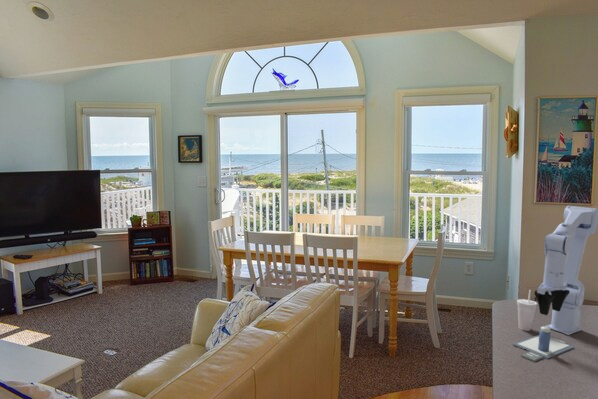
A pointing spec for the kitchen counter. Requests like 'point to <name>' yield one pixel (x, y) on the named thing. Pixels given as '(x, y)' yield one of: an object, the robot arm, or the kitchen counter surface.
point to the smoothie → (526, 312)
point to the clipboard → (554, 347)
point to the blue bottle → (544, 339)
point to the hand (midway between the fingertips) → (550, 312)
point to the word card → (532, 356)
